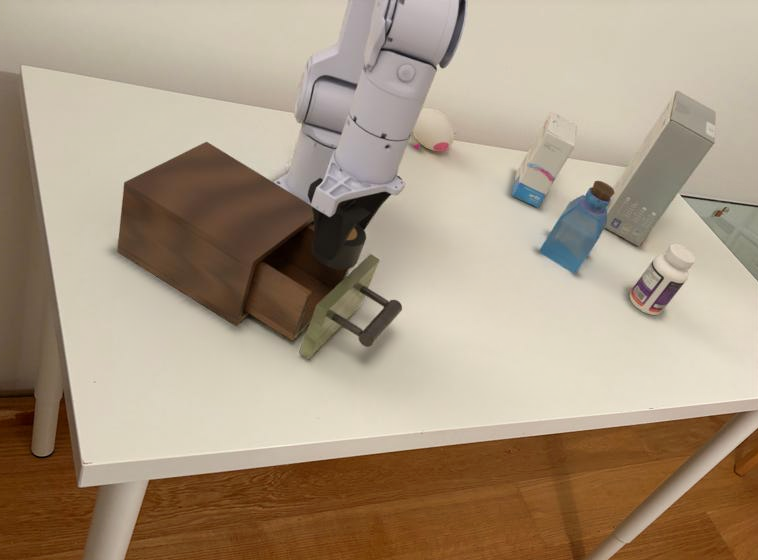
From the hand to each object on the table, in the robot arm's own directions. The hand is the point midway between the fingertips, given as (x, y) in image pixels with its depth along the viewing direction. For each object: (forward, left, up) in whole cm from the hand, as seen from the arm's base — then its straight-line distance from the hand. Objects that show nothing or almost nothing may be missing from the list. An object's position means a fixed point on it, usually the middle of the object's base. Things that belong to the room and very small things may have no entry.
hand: (337, 242), depth 72 cm
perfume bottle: (-40, +20, -10) cm, 46 cm away
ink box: (-52, +10, -10) cm, 54 cm away
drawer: (+1, -1, -9) cm, 9 cm away
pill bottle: (-40, +34, -10) cm, 54 cm away
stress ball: (-48, -7, -10) cm, 49 cm away
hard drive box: (-62, +26, -10) cm, 68 cm away
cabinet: (+1, -12, -10) cm, 16 cm away
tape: (0, 0, -1) cm, 1 cm away
